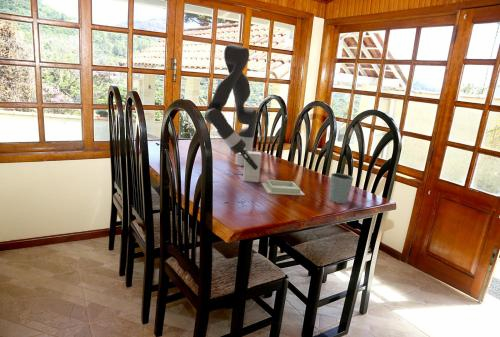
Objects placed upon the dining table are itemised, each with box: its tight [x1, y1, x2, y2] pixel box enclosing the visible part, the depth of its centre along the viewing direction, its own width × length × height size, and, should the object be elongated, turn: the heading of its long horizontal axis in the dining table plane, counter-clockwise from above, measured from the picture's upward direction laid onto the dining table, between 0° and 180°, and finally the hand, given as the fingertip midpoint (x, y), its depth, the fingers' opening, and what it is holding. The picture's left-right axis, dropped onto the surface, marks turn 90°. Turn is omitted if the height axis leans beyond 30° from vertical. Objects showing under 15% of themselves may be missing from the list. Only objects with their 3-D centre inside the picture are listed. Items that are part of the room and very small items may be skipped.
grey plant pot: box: [328, 172, 354, 204], centre depth 164 cm, size 10×10×12 cm
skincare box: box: [242, 150, 262, 183], centre depth 178 cm, size 8×6×15 cm
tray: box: [261, 179, 306, 196], centre depth 171 cm, size 14×18×3 cm
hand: (255, 166), depth 178 cm, fingers closed on skincare box, 6 cm apart
